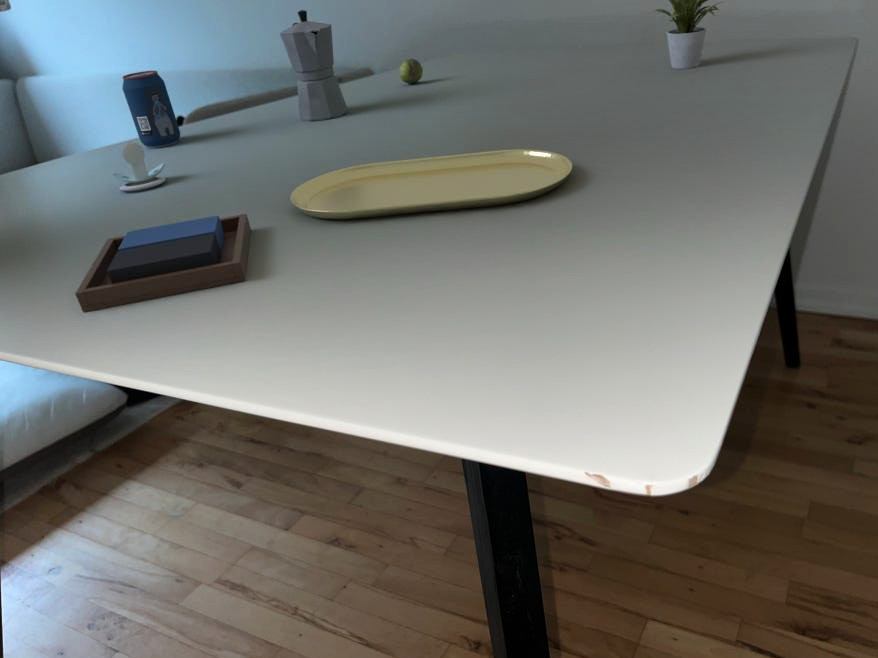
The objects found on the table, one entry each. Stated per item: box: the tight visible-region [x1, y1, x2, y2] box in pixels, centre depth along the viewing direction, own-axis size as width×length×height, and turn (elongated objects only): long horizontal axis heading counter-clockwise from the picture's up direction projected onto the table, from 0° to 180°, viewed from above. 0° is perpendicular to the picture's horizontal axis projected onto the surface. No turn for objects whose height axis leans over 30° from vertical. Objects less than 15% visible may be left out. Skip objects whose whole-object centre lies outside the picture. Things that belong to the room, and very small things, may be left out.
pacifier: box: [112, 141, 166, 192], centre depth 108 cm, size 7×6×6 cm
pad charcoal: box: [107, 234, 221, 284], centre depth 76 cm, size 10×6×2 cm, turn 103°
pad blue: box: [118, 215, 225, 252], centre depth 81 cm, size 10×6×2 cm, turn 103°
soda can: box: [121, 70, 181, 149], centre depth 130 cm, size 7×7×12 cm
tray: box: [74, 213, 252, 313], centre depth 79 cm, size 16×16×2 cm
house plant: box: [652, 0, 724, 70], centre depth 135 cm, size 14×14×16 cm
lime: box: [398, 58, 424, 85], centre depth 155 cm, size 4×5×5 cm
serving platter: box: [289, 148, 574, 220], centre depth 92 cm, size 19×35×2 cm, turn 88°
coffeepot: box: [279, 9, 348, 122], centre depth 135 cm, size 15×9×18 cm, turn 26°
